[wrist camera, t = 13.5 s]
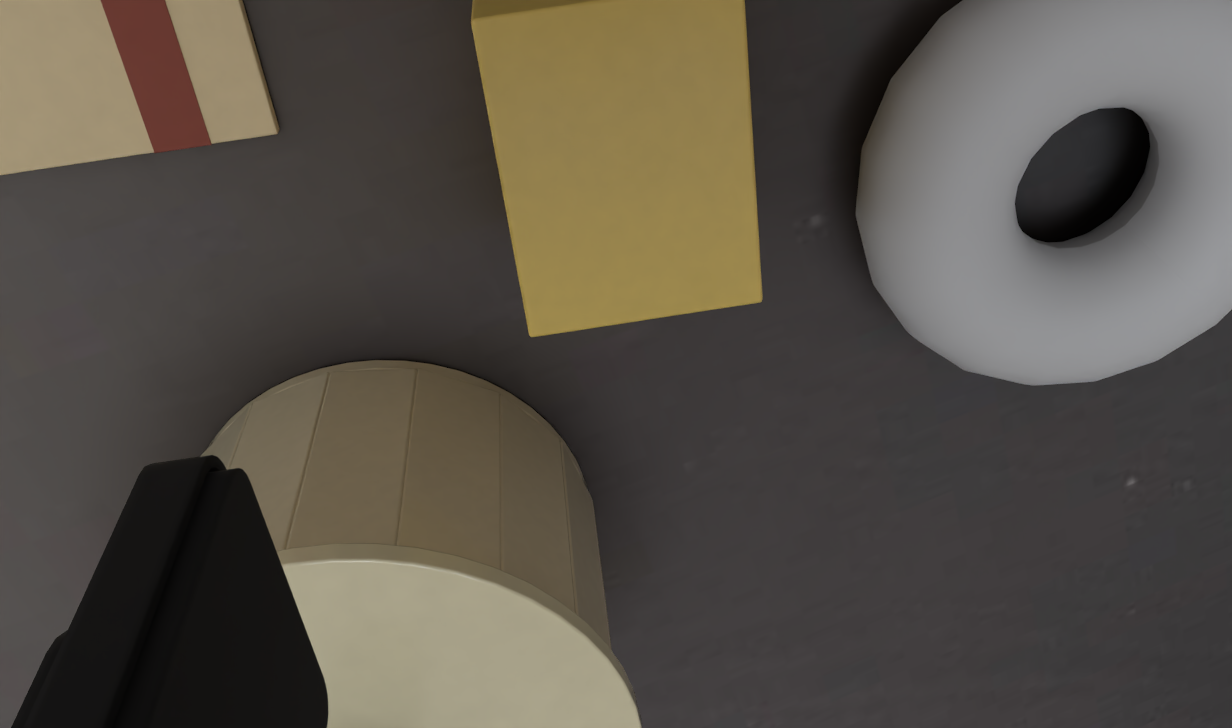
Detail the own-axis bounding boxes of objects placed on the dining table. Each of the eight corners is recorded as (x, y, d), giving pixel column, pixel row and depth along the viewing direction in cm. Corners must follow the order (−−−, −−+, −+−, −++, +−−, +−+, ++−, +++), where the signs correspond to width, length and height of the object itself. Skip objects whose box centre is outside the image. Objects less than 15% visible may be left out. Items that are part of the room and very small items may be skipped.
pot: (105, 453, 27) (-16, 680, 21) (490, 295, 26) (488, 485, 19) (319, 716, 32) (275, 963, 26) (648, 595, 31) (687, 823, 25)
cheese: (475, -40, 22) (470, 19, 18) (695, -72, 22) (743, -22, 18) (524, 233, 25) (530, 339, 21) (717, 204, 25) (763, 303, 21)
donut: (1001, -167, 22) (758, 257, 26) (1083, -153, 19) (793, 323, 23) (1351, 44, 25) (1084, 395, 29) (1470, 85, 22) (1153, 470, 26)
